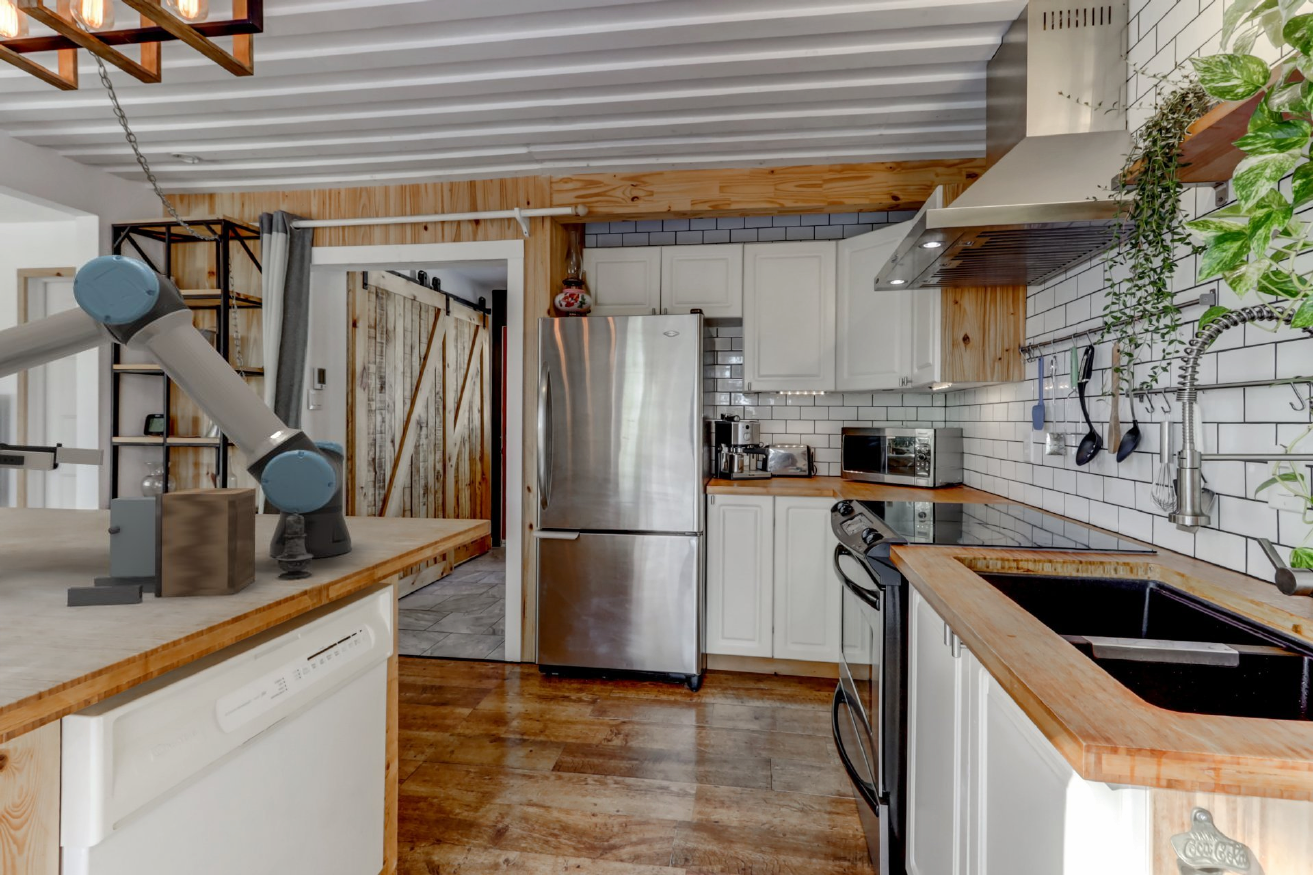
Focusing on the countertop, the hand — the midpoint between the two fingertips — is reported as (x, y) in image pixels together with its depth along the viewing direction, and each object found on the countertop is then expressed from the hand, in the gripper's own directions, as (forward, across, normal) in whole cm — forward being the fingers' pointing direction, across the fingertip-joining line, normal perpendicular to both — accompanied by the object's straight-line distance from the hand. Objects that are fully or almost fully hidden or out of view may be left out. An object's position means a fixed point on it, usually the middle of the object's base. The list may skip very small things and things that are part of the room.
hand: (78, 459), depth 108 cm
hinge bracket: (+12, +12, -20) cm, 26 cm away
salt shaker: (+34, +1, -19) cm, 39 cm away
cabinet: (+24, +8, -19) cm, 31 cm away
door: (+11, 0, -20) cm, 23 cm away
